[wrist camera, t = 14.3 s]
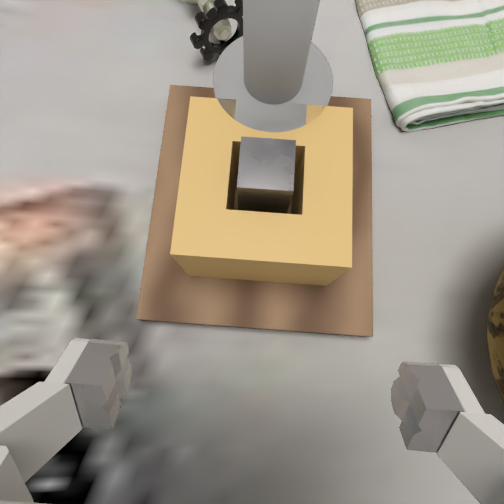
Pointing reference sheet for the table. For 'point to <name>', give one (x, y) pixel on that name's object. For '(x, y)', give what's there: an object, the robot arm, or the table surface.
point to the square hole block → (276, 127)
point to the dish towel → (437, 58)
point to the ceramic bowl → (497, 334)
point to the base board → (248, 291)
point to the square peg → (265, 174)
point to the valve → (216, 25)
